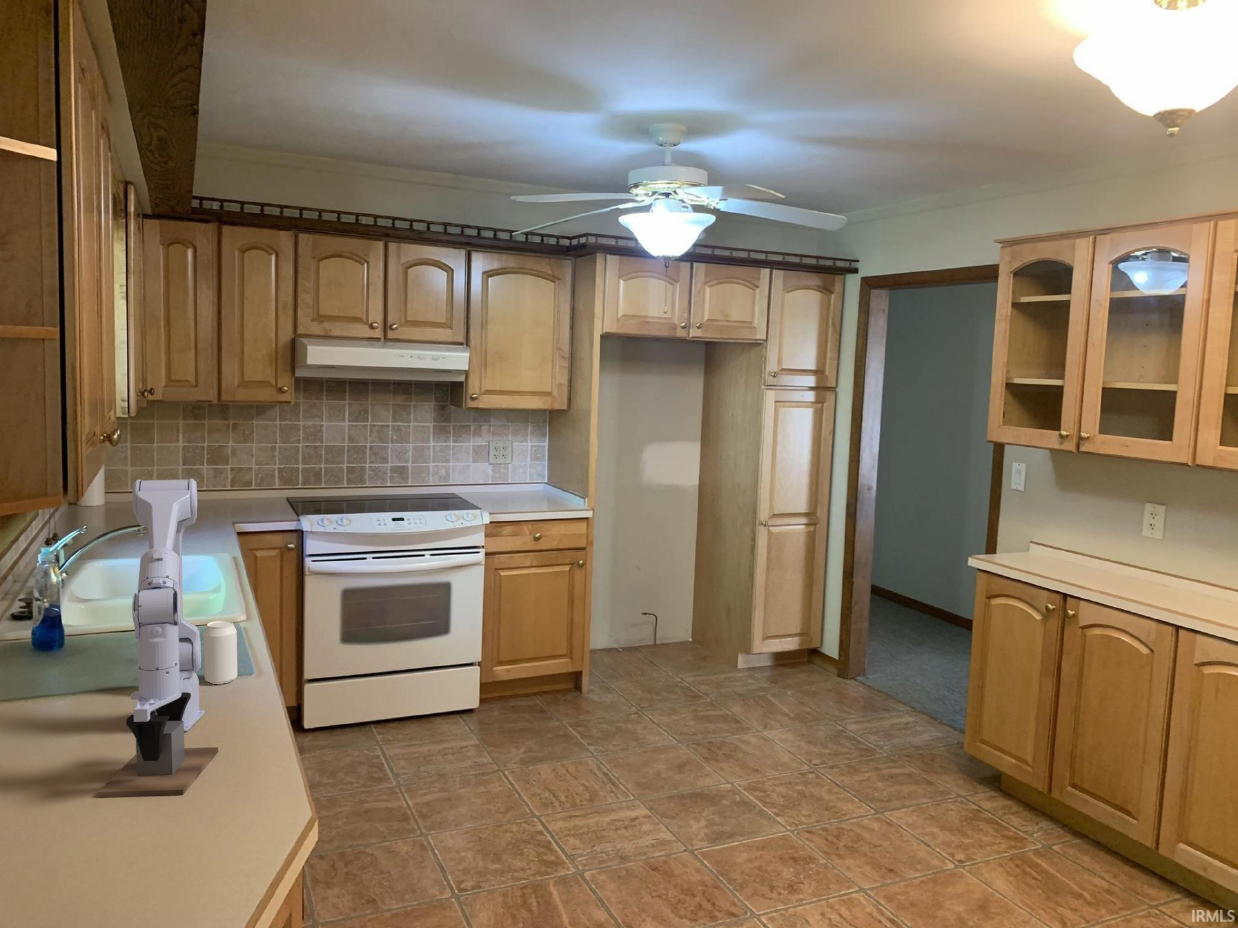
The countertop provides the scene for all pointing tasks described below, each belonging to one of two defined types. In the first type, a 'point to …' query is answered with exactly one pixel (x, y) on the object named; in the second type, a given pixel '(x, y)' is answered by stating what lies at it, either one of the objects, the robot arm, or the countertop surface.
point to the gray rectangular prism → (165, 752)
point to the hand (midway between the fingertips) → (161, 749)
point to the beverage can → (220, 652)
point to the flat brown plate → (159, 777)
